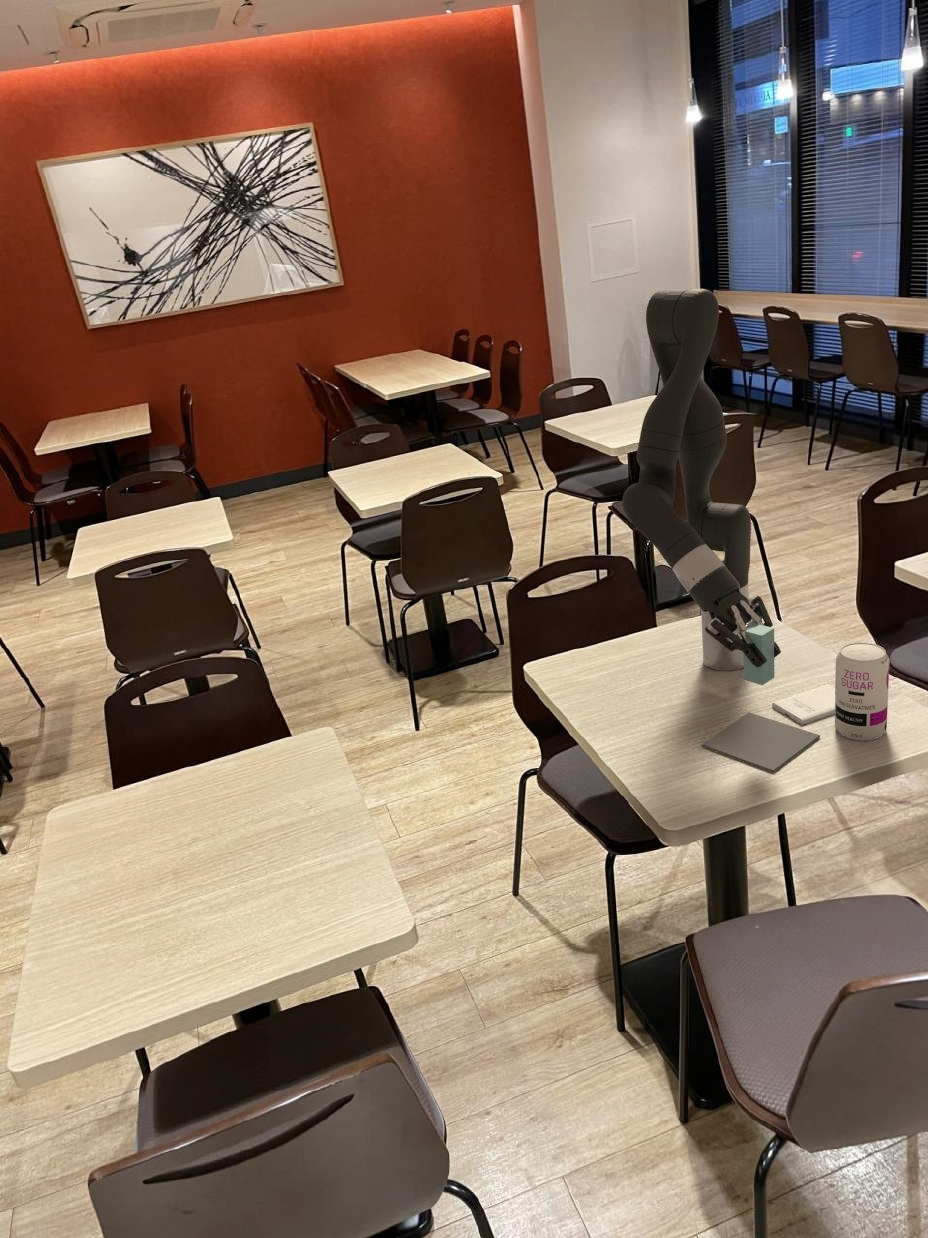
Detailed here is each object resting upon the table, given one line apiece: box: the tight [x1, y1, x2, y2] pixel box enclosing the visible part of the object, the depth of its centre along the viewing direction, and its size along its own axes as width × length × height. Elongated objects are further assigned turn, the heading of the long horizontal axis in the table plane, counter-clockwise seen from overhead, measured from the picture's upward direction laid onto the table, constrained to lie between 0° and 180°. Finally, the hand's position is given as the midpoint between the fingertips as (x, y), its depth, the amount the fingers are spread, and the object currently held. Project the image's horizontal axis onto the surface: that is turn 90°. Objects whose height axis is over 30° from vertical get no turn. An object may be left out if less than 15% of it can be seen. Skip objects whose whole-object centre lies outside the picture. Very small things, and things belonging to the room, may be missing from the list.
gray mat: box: [701, 711, 821, 774], centre depth 162 cm, size 14×14×1 cm
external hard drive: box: [771, 683, 835, 726], centre depth 170 cm, size 2×8×12 cm
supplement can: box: [834, 642, 890, 742], centre depth 158 cm, size 8×8×15 cm
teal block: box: [743, 624, 775, 686], centre depth 155 cm, size 4×4×9 cm
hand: (769, 659), depth 154 cm, fingers closed on teal block, 3 cm apart
